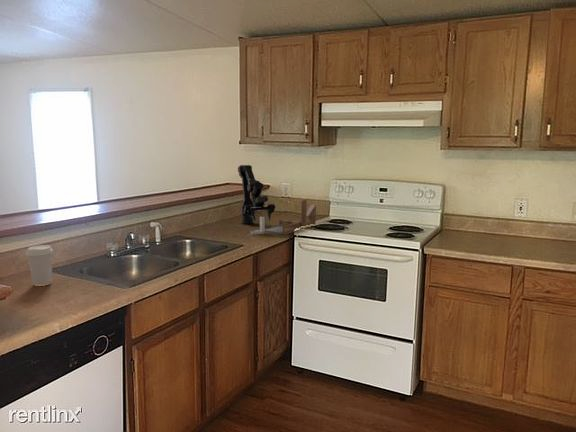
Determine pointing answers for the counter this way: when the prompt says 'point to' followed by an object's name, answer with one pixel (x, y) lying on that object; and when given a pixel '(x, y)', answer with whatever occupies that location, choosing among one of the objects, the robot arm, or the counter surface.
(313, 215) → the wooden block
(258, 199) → the robot arm
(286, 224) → the walls
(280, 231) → the mat
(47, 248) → the coffee cup
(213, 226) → the counter surface
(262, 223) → the bracket
